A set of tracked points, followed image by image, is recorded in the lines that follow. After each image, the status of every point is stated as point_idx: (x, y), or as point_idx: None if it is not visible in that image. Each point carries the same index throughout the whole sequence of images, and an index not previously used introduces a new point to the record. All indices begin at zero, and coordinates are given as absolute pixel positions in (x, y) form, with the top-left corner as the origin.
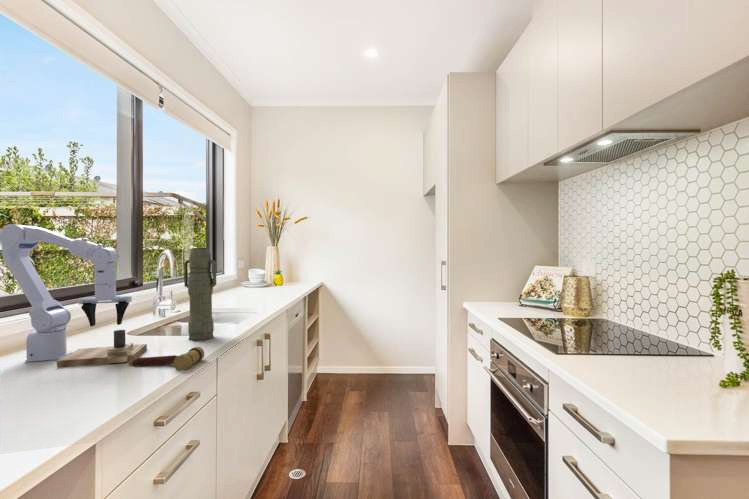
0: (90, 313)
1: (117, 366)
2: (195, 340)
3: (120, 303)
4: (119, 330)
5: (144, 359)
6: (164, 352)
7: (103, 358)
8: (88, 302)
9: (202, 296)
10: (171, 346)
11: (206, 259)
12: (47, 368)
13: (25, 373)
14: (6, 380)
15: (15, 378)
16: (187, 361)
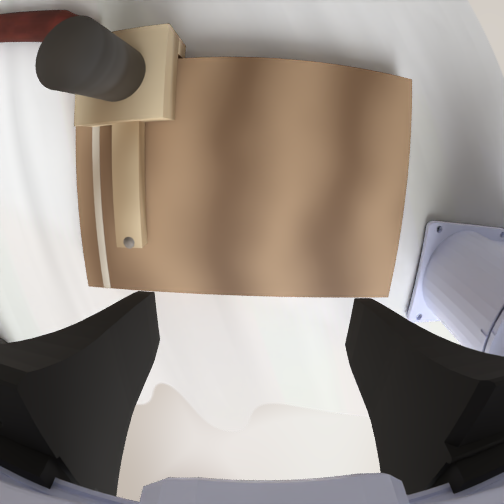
0: (416, 351)
1: (138, 17)
2: (2, 341)
3: (4, 422)
4: (68, 60)
5: (35, 12)
6: (22, 202)
7: (206, 58)
8: (484, 485)
9: None
10: (35, 295)
11: None
12: (427, 92)
13: (465, 61)
14: (472, 9)
15: (461, 15)
16: None
